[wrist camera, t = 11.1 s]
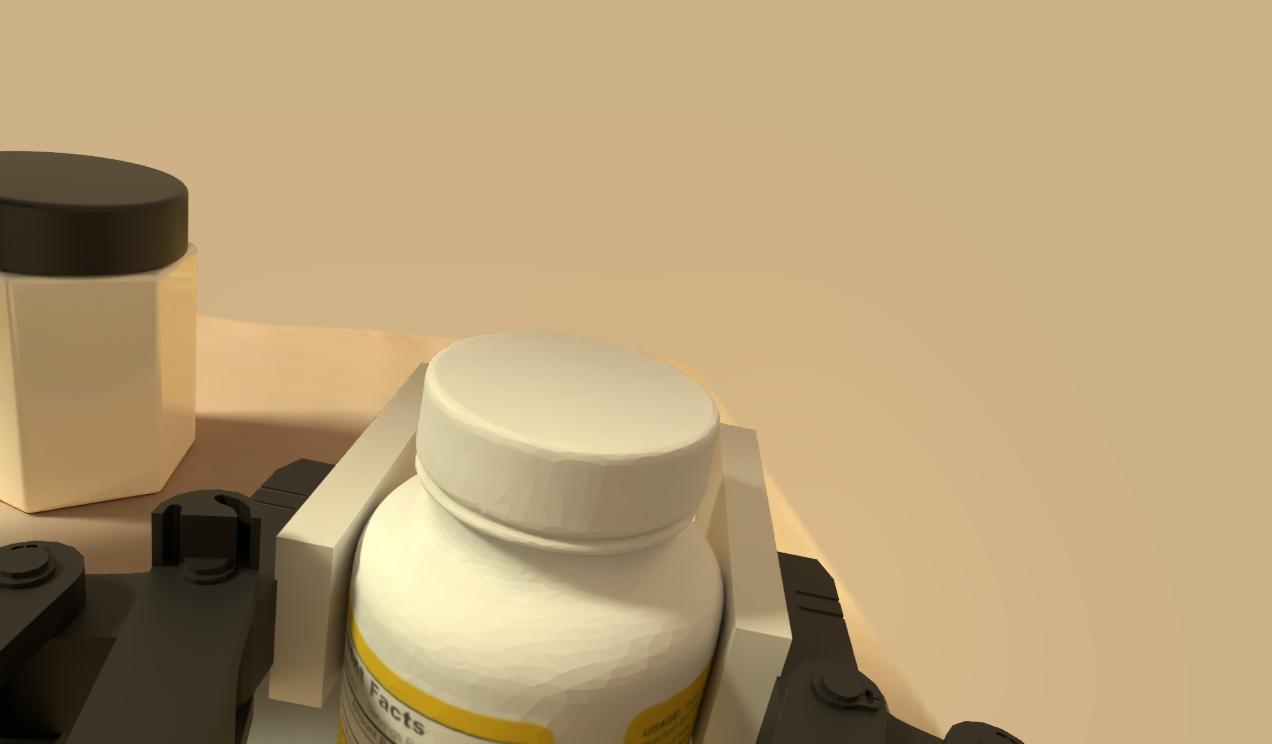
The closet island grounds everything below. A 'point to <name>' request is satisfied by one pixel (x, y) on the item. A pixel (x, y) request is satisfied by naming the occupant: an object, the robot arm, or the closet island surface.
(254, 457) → the closet island surface
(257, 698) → the bore box
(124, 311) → the jar
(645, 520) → the supplement bottle
